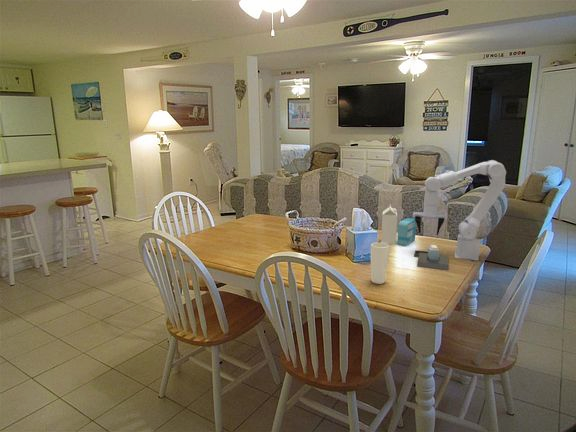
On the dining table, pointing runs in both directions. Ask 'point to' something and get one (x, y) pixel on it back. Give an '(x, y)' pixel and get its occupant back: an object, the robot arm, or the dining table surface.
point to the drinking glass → (379, 262)
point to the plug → (433, 253)
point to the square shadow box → (418, 253)
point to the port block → (432, 262)
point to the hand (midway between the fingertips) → (428, 233)
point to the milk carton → (389, 226)
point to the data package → (406, 231)
